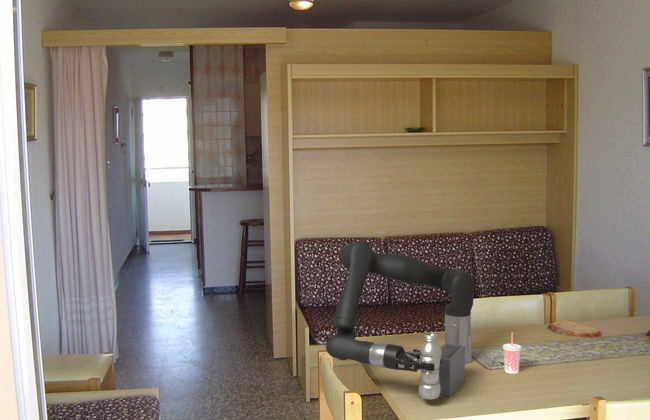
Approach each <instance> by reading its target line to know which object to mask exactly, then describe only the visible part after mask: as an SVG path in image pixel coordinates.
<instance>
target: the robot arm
mask: <svg viewBox="0 0 650 420" xmlns="http://www.w3.org/2000/svg"><path fill="white" fill-rule="evenodd" d="M372 248H373V247H372V246H371V245H370V244H369V243H368V242H366V241H363V240H359V241H358V240H357V241H353V242H350V243H348V244H346V245H344V246H342V248H341V249H340V250H339V252H338V260H339V262H340V264H341V265H342V266H343V267H344V268H345V269H348V270H349V271H348V275H347V279H346V282H345V285H344V287H343V289H342V291H341V294H340V296H339V299H338V301H337V304H336V309H335V314H334V321H333V326H334V328H335V330H336V335H334V336H331V337H330V338H329V339H328V340H327V341H326V344H325V349H326V353H327V354H328V355H329V356H330V357H332V358H334V359H337V360H340V361H347V360H349V361H355V362H357V363H361V364H366V365H372V366H375V367H378V368H384V369H390V370H395V371H406V372H415V373H417V372H418V371H421V370H427V371H434V370H435V364H433V363H427V362H421V359H420V349H416V348H414V349H413V350H411V351H405V348H404V346H402V345H398V344H393V343H386V342H375V341H374V342H373V341H368V340H358V339H356V336H355V335H356V330H355V326H356V322H357V317H358V310H359V304H360V300H361V296H362V292H363V289H364V285H365V282H366V279H367V276H368V273H371V274H375V275H379V276H381V277H385V278H388V279H390V280H391V279H392V280H394V281H398V282H402V283H406V284H410V285H418V286H422V285H423V286H425V285H426V286H430V287H433V288H436V289H439V290H442V291H445V292H446V293H449V294H450V297H451V298H450V303H448V304H445V307H444V343H447V344H454V345H462V346H465V364H466V363H471V362H472V335H471V329H472V328H471V326H472V325H471V324H472V323H471V322H472V321H471V320H472V319H471V317H472V316H471V315H472V308H473V306H474V298H475V297H474V293H475V283H474V278H473V276H472V275H471V274H470V273H469V272H467V271H464V270H460V269H457V268H449V267H442V266H437V265H432V264H430V263H428V262H426V261H424V260H422V259H418V258H416V257H411V256H408V255H403V254H399V253H398V254H396V253H379V252H374V251H373V249H372ZM441 364H442V358H441V359H440V365H441Z"/></svg>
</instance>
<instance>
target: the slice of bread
mask: <svg viewBox="0 0 650 420" xmlns="http://www.w3.org/2000/svg"><path fill="white" fill-rule="evenodd" d="M547 330H550V331H552V332H554V333H557V334H560V335H565V336H571V337H579V338H598V337H601V336H602V334H601V332H600V330H599V329H598V328H596V327H593V326H590V325H587V324H583V323H578V322H576V321H575V322H574V321H571V320H567V319H559V320H555V321H553V322H552V323H550V324H549V325H547Z"/></svg>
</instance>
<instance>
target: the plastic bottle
mask: <svg viewBox="0 0 650 420" xmlns="http://www.w3.org/2000/svg"><path fill="white" fill-rule="evenodd" d="M423 341H424V342H423V344H422V345H421V346H420V348H419V350H420V359H421V362H427V363H433V364H435V370H434V371H427V370H420V377H419V378H420V380H419V385H418V394H419V396H420V397H421V398H423V399H424V400H436V399H438V398H439V397H440V392H441V388H440V381H439V367H440V359H441V353H442V351H441V348H440V347H441V345H440V344H439V343H438V342H437V341H438V334H437V333H435V332H425V333H424V338H423ZM420 359H419V360H420Z"/></svg>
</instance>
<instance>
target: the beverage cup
mask: <svg viewBox="0 0 650 420" xmlns="http://www.w3.org/2000/svg"><path fill="white" fill-rule="evenodd" d="M510 334H511V336H510V337H511V340H510V342H511V343H505V344H502V349H503V360H504V361H503V362H504V372H505V373H507V374H518V373H519V372H520V370H519V369H520V360H521V359H520V356H521V350H522V346H521V345H520V344H516V343H514V332H513V331H511V333H510Z"/></svg>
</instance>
